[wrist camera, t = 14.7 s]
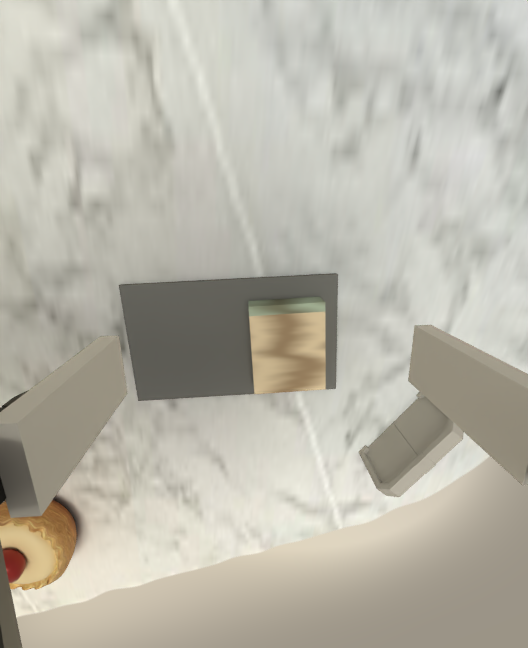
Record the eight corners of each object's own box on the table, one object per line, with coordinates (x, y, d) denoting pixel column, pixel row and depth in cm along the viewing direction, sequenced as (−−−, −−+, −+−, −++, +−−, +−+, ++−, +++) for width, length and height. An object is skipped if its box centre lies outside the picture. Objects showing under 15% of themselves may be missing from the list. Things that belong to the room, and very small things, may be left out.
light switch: (358, 451, 44) (380, 497, 36) (423, 387, 41) (462, 422, 34) (367, 458, 44) (391, 505, 36) (432, 395, 42) (472, 431, 34)
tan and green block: (320, 377, 40) (319, 296, 37) (325, 389, 37) (325, 302, 34) (254, 382, 39) (248, 300, 37) (254, 394, 36) (248, 307, 34)
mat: (139, 398, 40) (138, 400, 39) (121, 284, 36) (118, 285, 36) (334, 386, 41) (335, 388, 40) (336, 273, 37) (337, 274, 36)
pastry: (77, 483, 43) (34, 546, 34) (92, 552, 46) (57, 625, 38) (-17, 488, 43) (-84, 553, 34) (5, 557, 46) (-51, 632, 37)
